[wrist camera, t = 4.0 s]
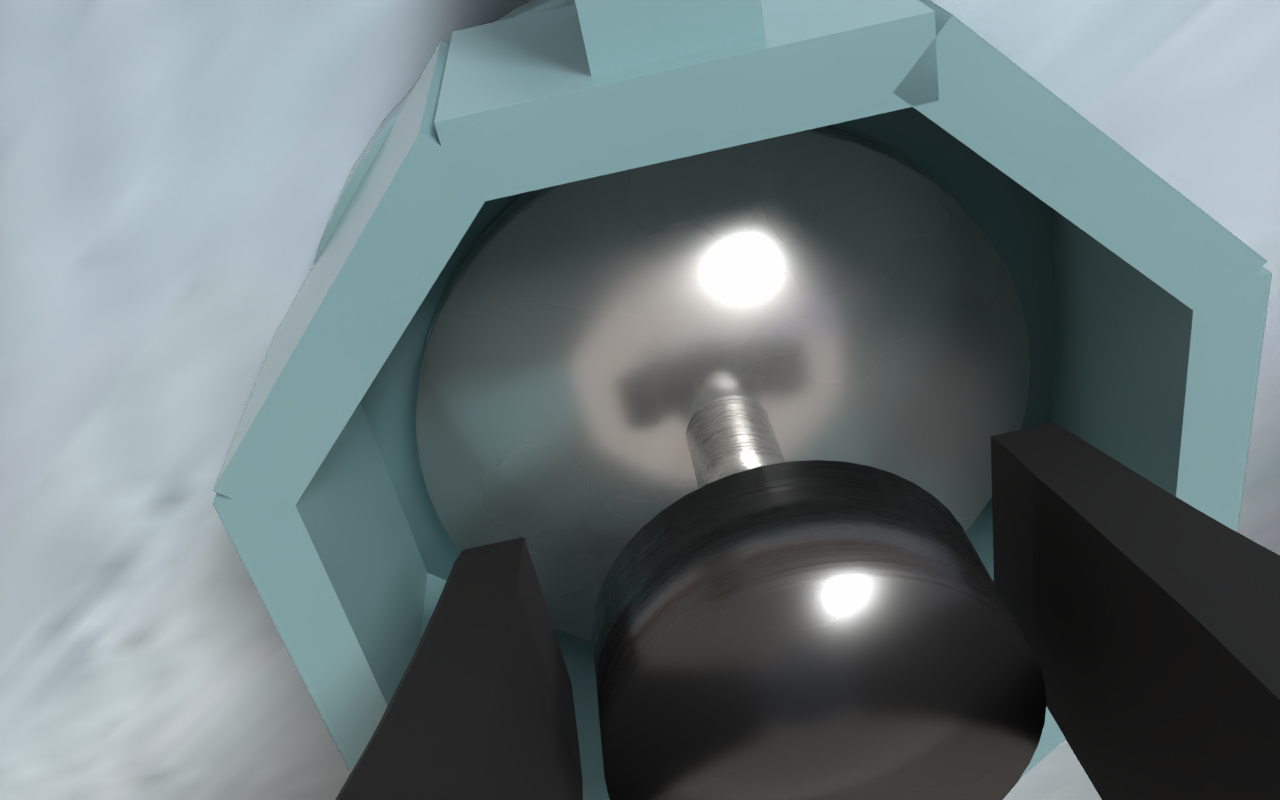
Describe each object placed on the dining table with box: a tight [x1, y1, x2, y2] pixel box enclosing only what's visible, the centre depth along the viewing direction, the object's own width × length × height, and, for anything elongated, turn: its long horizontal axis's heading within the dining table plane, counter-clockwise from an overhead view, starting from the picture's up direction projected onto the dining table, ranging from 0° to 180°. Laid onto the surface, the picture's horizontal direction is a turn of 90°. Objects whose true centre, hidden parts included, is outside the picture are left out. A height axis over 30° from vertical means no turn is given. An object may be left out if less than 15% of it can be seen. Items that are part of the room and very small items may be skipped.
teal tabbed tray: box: [213, 0, 1272, 800], centre depth 12 cm, size 10×12×4 cm
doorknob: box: [416, 125, 1047, 800], centre depth 11 cm, size 7×7×5 cm
